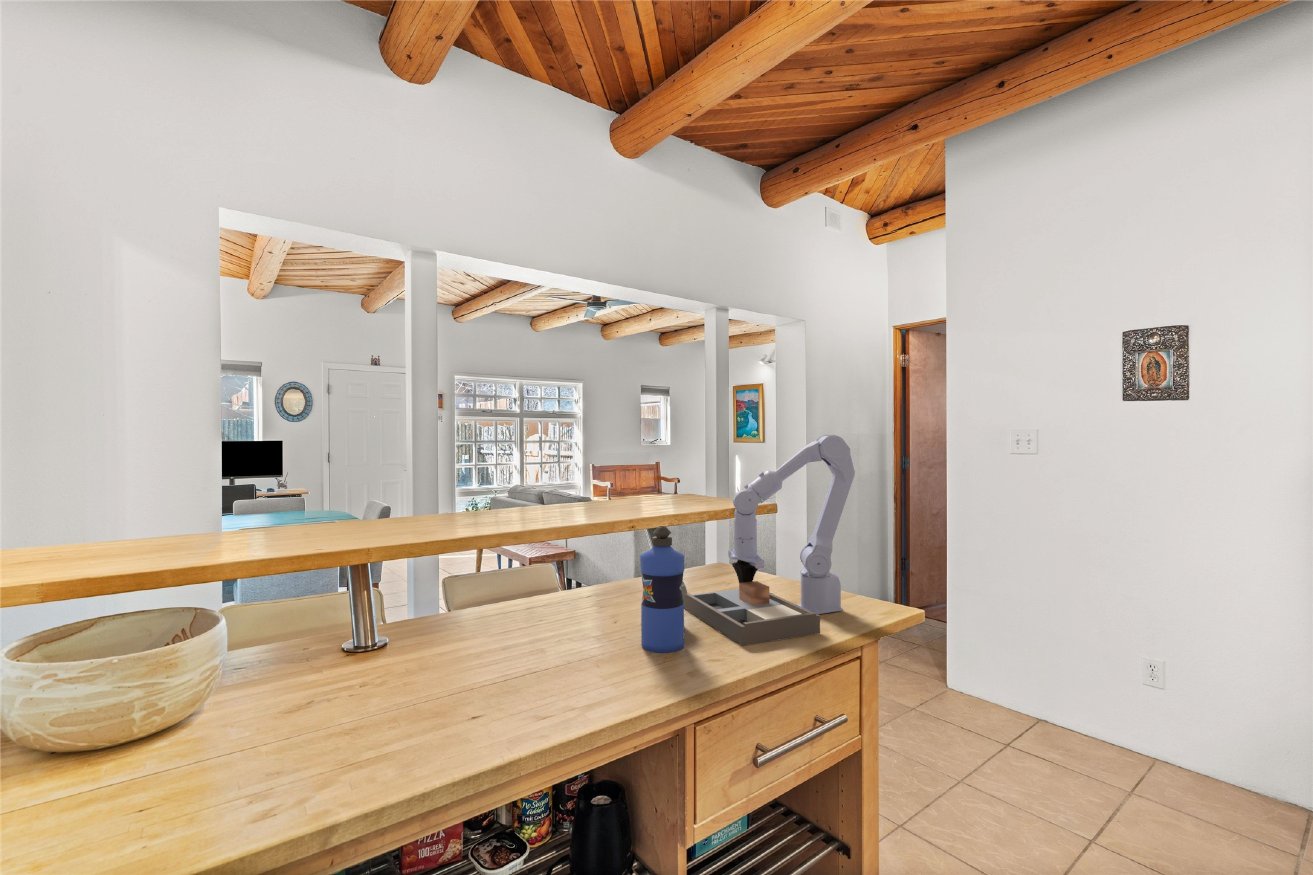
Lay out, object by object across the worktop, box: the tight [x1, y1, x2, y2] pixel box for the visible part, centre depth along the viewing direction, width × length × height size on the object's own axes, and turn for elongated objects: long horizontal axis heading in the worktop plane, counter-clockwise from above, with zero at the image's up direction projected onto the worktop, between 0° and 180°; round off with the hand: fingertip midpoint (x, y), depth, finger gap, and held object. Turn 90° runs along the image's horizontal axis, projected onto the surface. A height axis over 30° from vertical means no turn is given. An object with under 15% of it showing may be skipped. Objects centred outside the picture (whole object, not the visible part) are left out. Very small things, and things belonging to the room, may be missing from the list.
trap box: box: [684, 588, 821, 647], centre depth 144 cm, size 20×30×4 cm, turn 22°
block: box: [738, 580, 770, 605], centre depth 149 cm, size 5×6×4 cm
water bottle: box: [639, 526, 685, 654], centre depth 127 cm, size 9×9×25 cm
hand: (745, 590), depth 153 cm, fingers closed
